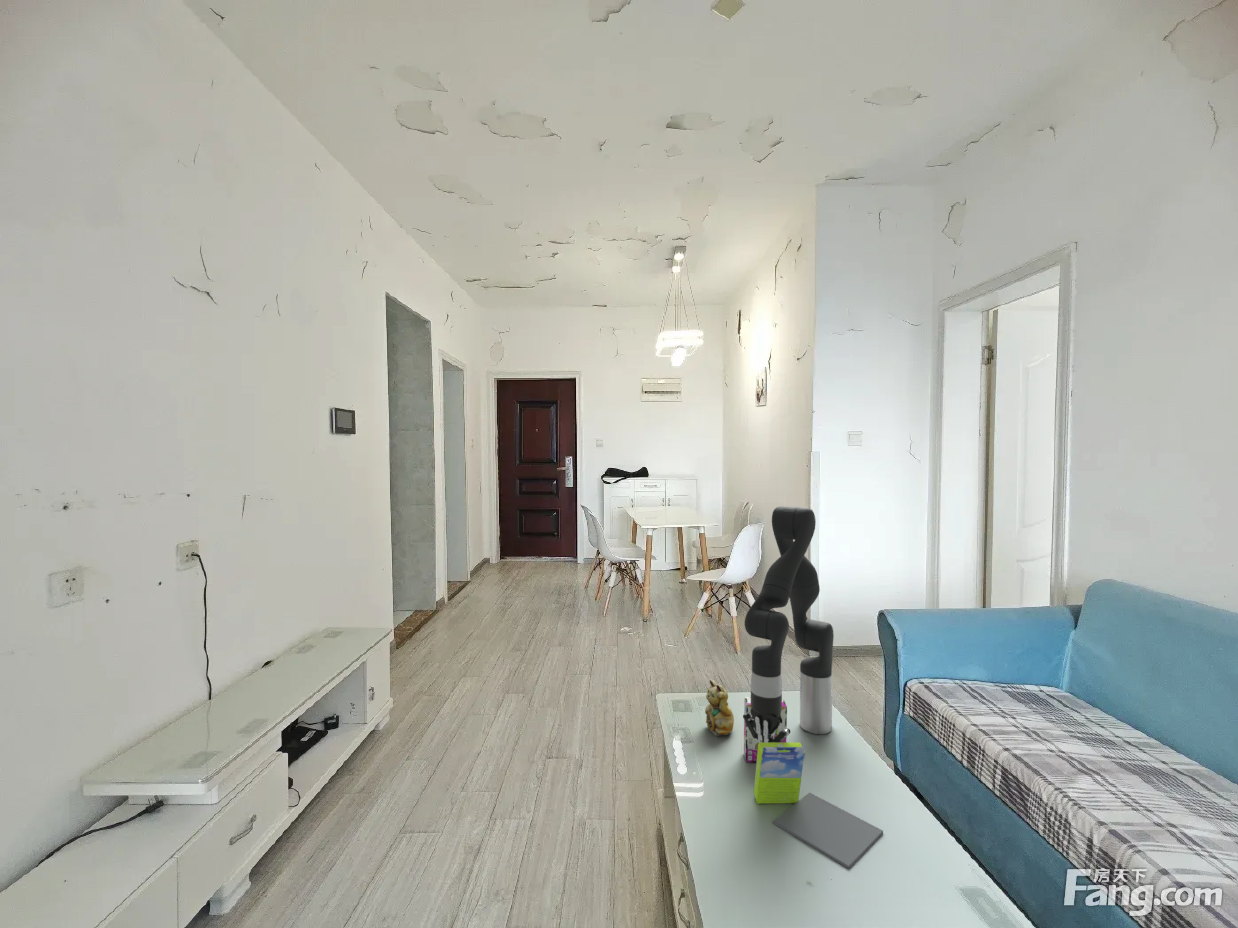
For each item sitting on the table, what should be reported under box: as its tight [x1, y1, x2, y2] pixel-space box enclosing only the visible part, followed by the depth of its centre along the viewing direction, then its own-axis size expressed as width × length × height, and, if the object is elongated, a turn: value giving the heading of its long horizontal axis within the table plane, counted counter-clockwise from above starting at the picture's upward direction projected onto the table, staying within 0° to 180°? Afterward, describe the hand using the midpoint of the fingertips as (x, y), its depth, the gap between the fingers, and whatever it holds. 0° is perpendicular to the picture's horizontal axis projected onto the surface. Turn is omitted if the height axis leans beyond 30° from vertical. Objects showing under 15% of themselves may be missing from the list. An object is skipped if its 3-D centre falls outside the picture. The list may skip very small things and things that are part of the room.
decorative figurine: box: [704, 679, 735, 737], centre depth 166 cm, size 10×8×15 cm
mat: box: [772, 792, 884, 869], centre depth 123 cm, size 16×18×1 cm
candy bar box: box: [743, 696, 788, 763], centre depth 151 cm, size 11×5×16 cm, turn 84°
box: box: [753, 741, 806, 805], centre depth 131 cm, size 10×4×17 cm, turn 91°
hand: (765, 758), depth 135 cm, fingers closed
